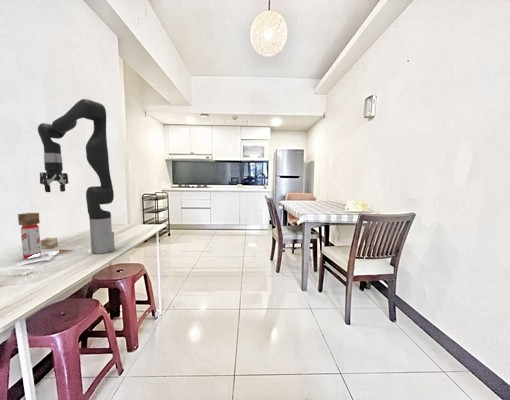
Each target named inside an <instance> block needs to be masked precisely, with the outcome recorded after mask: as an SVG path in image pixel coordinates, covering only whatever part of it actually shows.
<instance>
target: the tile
mask: <svg viewBox="0 0 510 400" xmlns="http://www.w3.org/2000/svg"><path fill="white" fill-rule="evenodd" d="M58 250H59V253H58V255H60V256H62V255H65V253H66V254H69V253H71V251H72V252H74V251H75V250H74V249H60V248H59V249H57V250H55V251H58ZM68 252H69V253H68Z"/></svg>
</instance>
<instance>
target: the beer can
mask: <svg viewBox="0 0 510 400" xmlns="http://www.w3.org/2000/svg"><path fill="white" fill-rule="evenodd" d="M20 234H21V235H20V236H21V246H22V248H21V249H22V258H23V259H25V260H28V259H27V258H28V257H30V256H32V255H34V254H38V253H41V254H42V249H41V243H40V240H41V238H40V236H41V235H40V227H39V225H38V224H33V225H21V227H20Z"/></svg>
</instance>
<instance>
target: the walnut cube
mask: <svg viewBox="0 0 510 400" xmlns="http://www.w3.org/2000/svg"><path fill="white" fill-rule="evenodd" d="M17 219H18V226H22V225H33V224H37V225H38V224H41V223H40V213H39V212H26V213H24V212H23V213H17Z"/></svg>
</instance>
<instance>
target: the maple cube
mask: <svg viewBox="0 0 510 400" xmlns="http://www.w3.org/2000/svg"><path fill="white" fill-rule="evenodd" d="M58 245H59V244H58V237H46V238H43V239H40V246H41V250H52V249H55V248H57V247H58Z"/></svg>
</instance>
